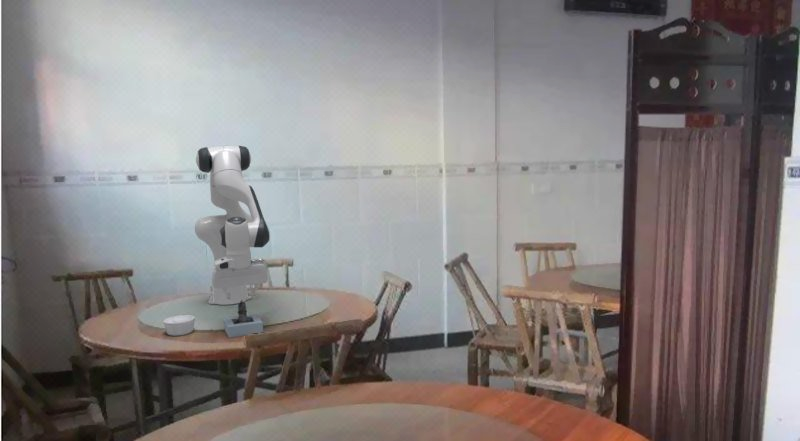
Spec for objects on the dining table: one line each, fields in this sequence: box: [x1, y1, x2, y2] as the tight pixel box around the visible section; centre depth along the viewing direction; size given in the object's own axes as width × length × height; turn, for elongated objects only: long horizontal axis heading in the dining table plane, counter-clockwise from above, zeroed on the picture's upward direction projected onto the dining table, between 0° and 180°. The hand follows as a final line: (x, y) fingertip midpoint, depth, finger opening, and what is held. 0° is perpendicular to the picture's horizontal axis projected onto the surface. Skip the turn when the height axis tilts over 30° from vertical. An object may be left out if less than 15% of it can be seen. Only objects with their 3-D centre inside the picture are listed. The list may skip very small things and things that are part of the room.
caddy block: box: [223, 313, 264, 339], centre depth 235 cm, size 12×12×4 cm
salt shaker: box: [235, 300, 251, 324], centre depth 234 cm, size 6×6×12 cm
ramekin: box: [162, 314, 196, 337], centre depth 236 cm, size 11×11×5 cm
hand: (241, 297), depth 234 cm, fingers open, 8 cm apart
